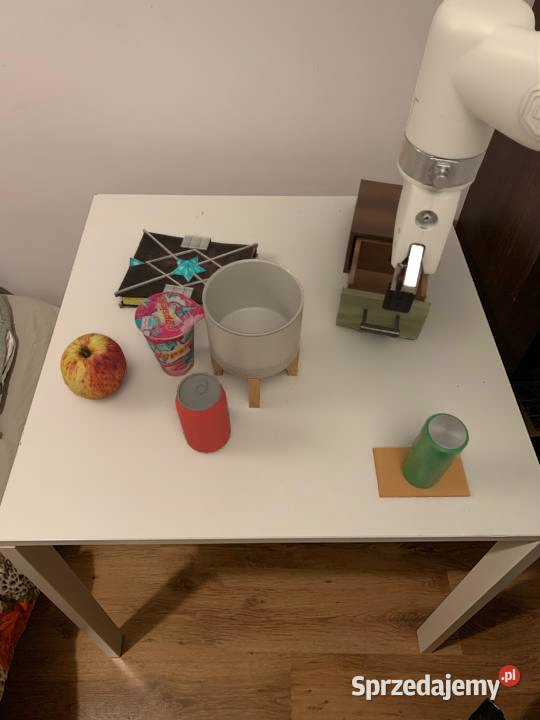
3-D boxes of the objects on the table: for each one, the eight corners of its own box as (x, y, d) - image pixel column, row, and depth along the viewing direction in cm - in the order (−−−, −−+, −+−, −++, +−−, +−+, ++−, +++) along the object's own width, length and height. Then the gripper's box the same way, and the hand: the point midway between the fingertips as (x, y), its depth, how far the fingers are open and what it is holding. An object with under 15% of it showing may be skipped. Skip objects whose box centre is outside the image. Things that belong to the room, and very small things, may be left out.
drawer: (415, 360, 77) (429, 330, 71) (331, 344, 79) (337, 313, 72) (421, 281, 87) (434, 247, 80) (346, 268, 89) (353, 234, 82)
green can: (440, 457, 68) (470, 416, 58) (439, 492, 65) (470, 456, 55) (402, 449, 69) (425, 407, 59) (399, 484, 66) (423, 446, 56)
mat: (456, 448, 70) (458, 446, 69) (469, 496, 66) (470, 495, 65) (372, 449, 69) (373, 447, 69) (379, 497, 65) (380, 496, 65)
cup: (164, 394, 74) (148, 347, 64) (142, 355, 78) (125, 305, 68) (218, 368, 77) (212, 320, 67) (195, 332, 81) (185, 281, 71)
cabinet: (423, 286, 87) (439, 245, 80) (342, 272, 89) (350, 231, 81) (427, 233, 96) (442, 191, 88) (353, 221, 97) (361, 179, 89)
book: (258, 256, 91) (258, 235, 87) (240, 326, 82) (239, 306, 78) (146, 242, 93) (141, 221, 89) (116, 308, 84) (108, 288, 80)
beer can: (236, 419, 72) (232, 375, 62) (222, 460, 68) (215, 419, 58) (194, 408, 73) (183, 363, 63) (178, 448, 69) (164, 406, 59)
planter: (210, 407, 73) (197, 334, 58) (217, 338, 80) (206, 257, 66) (297, 408, 73) (306, 335, 58) (295, 339, 80) (302, 259, 66)
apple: (122, 415, 72) (103, 379, 64) (63, 407, 73) (38, 370, 65) (140, 365, 77) (126, 325, 69) (86, 358, 78) (64, 317, 70)
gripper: (482, 220, 41) (425, 346, 55) (480, 111, 50) (431, 243, 65) (392, 206, 42) (358, 333, 56) (406, 102, 51) (375, 234, 66)
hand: (398, 284), depth 60 cm, fingers open, 7 cm apart
